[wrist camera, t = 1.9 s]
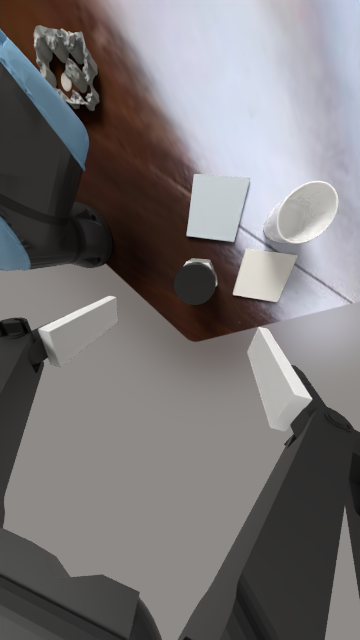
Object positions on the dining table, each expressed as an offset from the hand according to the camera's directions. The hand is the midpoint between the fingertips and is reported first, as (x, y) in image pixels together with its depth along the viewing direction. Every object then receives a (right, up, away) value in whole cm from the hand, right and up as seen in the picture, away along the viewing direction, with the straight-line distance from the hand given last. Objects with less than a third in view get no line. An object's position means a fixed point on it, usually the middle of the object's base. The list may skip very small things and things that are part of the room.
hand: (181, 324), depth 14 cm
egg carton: (-20, +46, +15) cm, 53 cm away
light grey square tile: (+8, +24, +19) cm, 32 cm away
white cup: (+21, +21, +18) cm, 35 cm away
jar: (+5, +12, +26) cm, 29 cm away
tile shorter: (+20, +11, +23) cm, 32 cm away
